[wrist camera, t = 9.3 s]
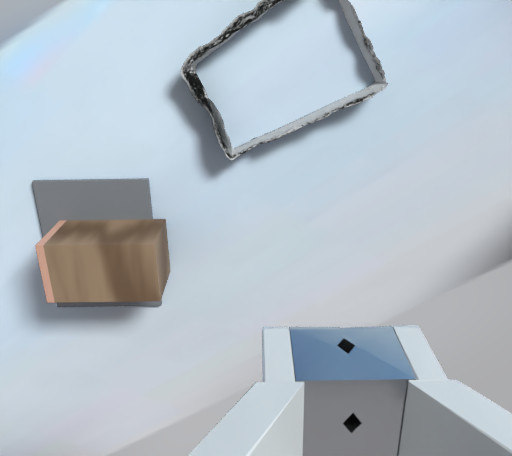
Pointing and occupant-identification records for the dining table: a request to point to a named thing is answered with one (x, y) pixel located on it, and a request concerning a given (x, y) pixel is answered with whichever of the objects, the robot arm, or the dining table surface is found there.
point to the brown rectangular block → (104, 260)
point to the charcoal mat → (93, 209)
